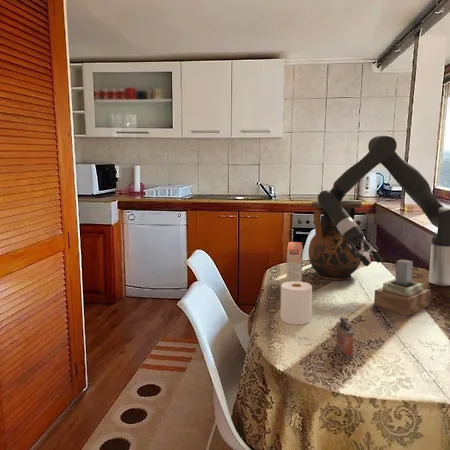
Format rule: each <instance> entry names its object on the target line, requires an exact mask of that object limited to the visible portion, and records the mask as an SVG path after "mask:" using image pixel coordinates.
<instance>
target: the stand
mask: <svg viewBox="0 0 450 450" xmlns="http://www.w3.org/2000/svg"><path fill="white" fill-rule="evenodd" d="M395 280H396V278H394V279H391V280H388V281H386V282H383V283H382V286H383V287H380V288H377V289H375V290H374V301H373V306H374V307H377V308H380V309H383V310H387V311H391V312H393V313H398V314H400V313H401V314H400V315H404V316H407V315H409V316H411V315H413V314H415V313H417V312H419V311H421V310H424V309H426V308H427V307H430V305H431V293H432V292H431V289H429V288H424V283H420V282H415V281H413V280H411V287H408V288H407V287H403V286H398V285H395Z"/></svg>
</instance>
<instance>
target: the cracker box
mask: <svg viewBox="0 0 450 450" xmlns="http://www.w3.org/2000/svg"><path fill="white" fill-rule="evenodd" d="M286 250H287V251H286V281H285V282H290V281H301V282H303V281H302V275H303V242H298V241H288V244H287V249H286Z"/></svg>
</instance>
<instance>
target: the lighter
mask: <svg viewBox="0 0 450 450" xmlns="http://www.w3.org/2000/svg"><path fill="white" fill-rule="evenodd" d="M352 325H353V324H352V323H351V322H350V320H349V318H348V317H345V316H343V315H341V316H340V317H339V321H337V322H336V343H335V350H336V351H337V353H338V354H339V355H340V356H341V357H343V359H346V360H352V359H353V358H354V352H353V349H354V348H353V347H354V343H353V342H354V335H355V330H354V329H353V327H352Z"/></svg>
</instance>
